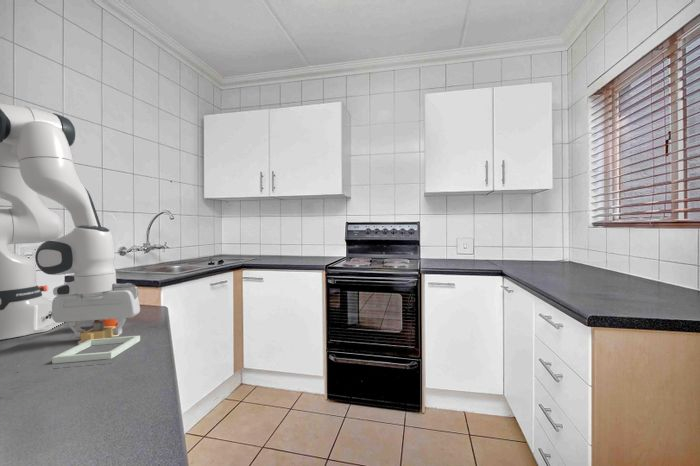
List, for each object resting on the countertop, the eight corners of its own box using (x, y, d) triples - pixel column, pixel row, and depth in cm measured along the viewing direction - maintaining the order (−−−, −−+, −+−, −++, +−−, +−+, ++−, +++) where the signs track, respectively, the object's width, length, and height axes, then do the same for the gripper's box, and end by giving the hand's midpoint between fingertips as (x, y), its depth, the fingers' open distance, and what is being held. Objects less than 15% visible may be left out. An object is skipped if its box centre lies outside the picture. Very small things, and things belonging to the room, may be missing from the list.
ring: (95, 336, 89) (94, 327, 89) (115, 334, 90) (115, 325, 90) (77, 344, 82) (76, 335, 82) (99, 342, 83) (99, 333, 83)
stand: (92, 338, 91) (91, 319, 91) (126, 336, 92) (125, 316, 92) (68, 350, 82) (67, 328, 82) (106, 347, 83) (105, 325, 83)
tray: (90, 349, 82) (90, 339, 82) (140, 344, 83) (140, 335, 83) (52, 368, 70) (51, 357, 70) (111, 363, 71) (111, 352, 71)
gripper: (143, 280, 91) (145, 329, 91) (64, 285, 89) (67, 335, 89) (130, 284, 85) (133, 336, 85) (45, 289, 82) (48, 342, 82)
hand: (98, 335), depth 87 cm, fingers open, 8 cm apart
